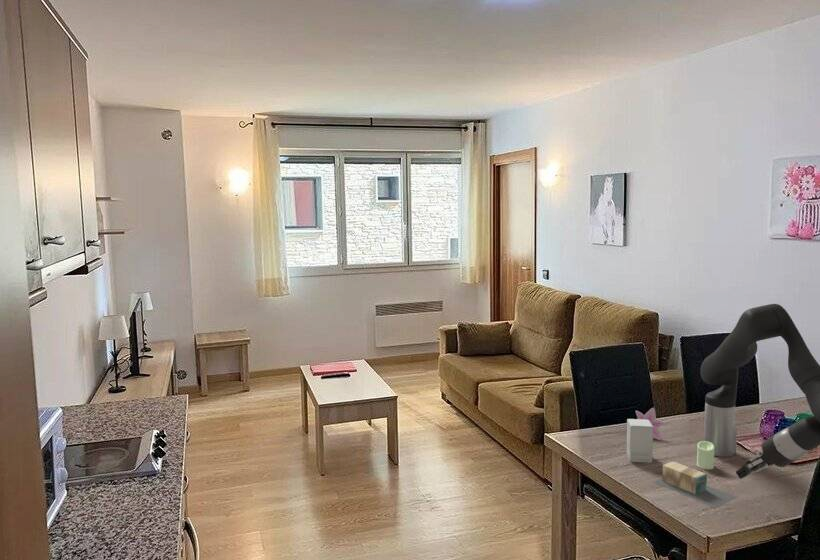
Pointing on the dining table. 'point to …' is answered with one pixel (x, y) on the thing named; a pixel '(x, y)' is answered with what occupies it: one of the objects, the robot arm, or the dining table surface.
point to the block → (684, 477)
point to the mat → (702, 494)
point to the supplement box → (639, 440)
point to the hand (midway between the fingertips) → (739, 474)
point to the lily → (651, 421)
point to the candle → (705, 455)
